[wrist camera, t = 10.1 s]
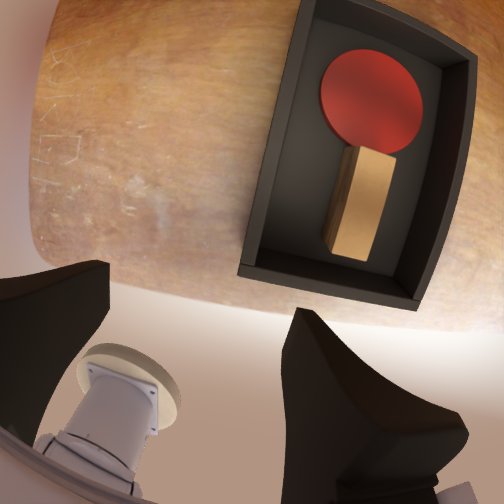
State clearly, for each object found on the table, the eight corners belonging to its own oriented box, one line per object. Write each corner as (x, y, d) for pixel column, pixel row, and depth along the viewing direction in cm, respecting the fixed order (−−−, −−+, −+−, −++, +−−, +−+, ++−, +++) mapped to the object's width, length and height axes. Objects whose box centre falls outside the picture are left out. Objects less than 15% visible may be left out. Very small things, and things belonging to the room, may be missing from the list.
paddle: (382, 252, 18) (400, 270, 15) (284, 228, 18) (288, 243, 15) (423, 76, 14) (447, 67, 11) (328, 38, 14) (340, 19, 11)
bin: (394, 285, 20) (416, 312, 16) (242, 252, 19) (236, 276, 16) (447, 67, 14) (478, 56, 10) (299, 7, 14) (306, -22, 10)
